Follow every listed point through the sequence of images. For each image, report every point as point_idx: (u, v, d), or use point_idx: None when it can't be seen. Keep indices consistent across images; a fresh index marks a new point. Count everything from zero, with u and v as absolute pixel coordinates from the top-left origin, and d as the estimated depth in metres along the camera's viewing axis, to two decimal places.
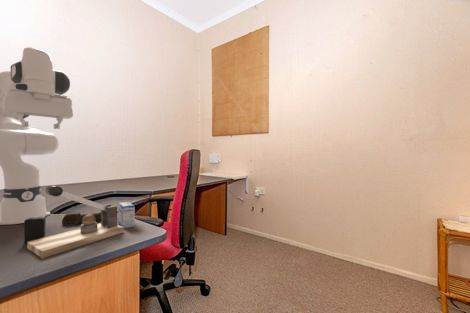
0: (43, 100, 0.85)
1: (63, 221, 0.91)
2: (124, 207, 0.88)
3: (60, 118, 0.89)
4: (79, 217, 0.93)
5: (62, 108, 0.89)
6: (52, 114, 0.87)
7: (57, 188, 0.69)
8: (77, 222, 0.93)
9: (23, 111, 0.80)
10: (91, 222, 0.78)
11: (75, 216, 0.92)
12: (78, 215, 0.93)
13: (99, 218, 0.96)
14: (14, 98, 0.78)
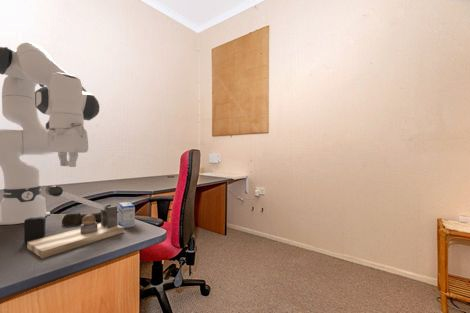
0: (62, 135, 0.72)
1: (63, 221, 0.91)
2: (124, 207, 0.88)
3: (69, 154, 0.71)
4: (79, 217, 0.93)
5: (70, 141, 0.68)
6: (65, 150, 0.70)
7: (57, 188, 0.69)
8: (77, 222, 0.93)
9: (54, 150, 0.75)
10: (91, 222, 0.78)
11: (75, 216, 0.92)
12: (79, 215, 0.93)
13: (99, 218, 0.96)
14: (51, 137, 0.76)
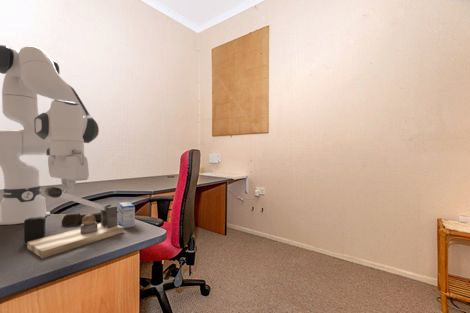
0: (62, 161, 0.72)
1: (63, 221, 0.91)
2: (124, 207, 0.88)
3: (67, 181, 0.72)
4: (79, 217, 0.93)
5: (70, 169, 0.69)
6: (66, 178, 0.70)
7: (56, 189, 0.69)
8: (77, 222, 0.92)
9: (55, 176, 0.75)
10: (91, 222, 0.78)
11: (75, 216, 0.92)
12: (78, 215, 0.93)
13: (99, 218, 0.96)
14: (51, 163, 0.76)
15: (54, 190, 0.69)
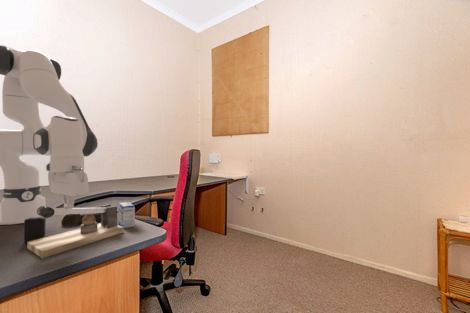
0: (62, 177, 0.72)
1: (62, 222, 0.90)
2: (124, 207, 0.88)
3: (67, 196, 0.72)
4: (79, 217, 0.92)
5: (70, 186, 0.69)
6: (66, 194, 0.70)
7: (47, 209, 0.67)
8: (77, 222, 0.92)
9: (55, 191, 0.75)
10: (91, 222, 0.78)
11: (75, 216, 0.92)
12: (79, 215, 0.93)
13: (99, 218, 0.96)
14: (51, 178, 0.76)
15: (45, 211, 0.67)
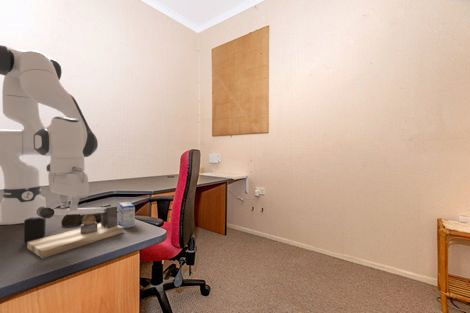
0: (62, 178, 0.72)
1: (62, 222, 0.90)
2: (124, 207, 0.88)
3: (70, 198, 0.71)
4: (79, 217, 0.92)
5: (70, 186, 0.69)
6: (66, 195, 0.71)
7: (47, 210, 0.67)
8: (77, 222, 0.92)
9: (55, 192, 0.75)
10: (91, 222, 0.78)
11: (75, 216, 0.92)
12: (79, 215, 0.93)
13: (99, 218, 0.96)
14: (52, 179, 0.76)
15: (45, 211, 0.67)
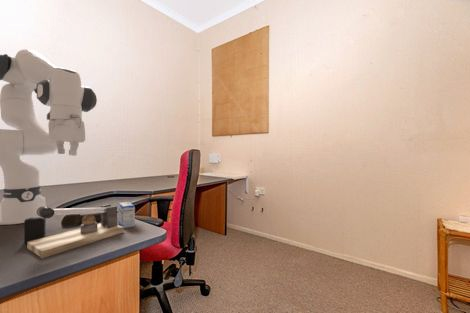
0: (61, 125, 0.78)
1: (62, 222, 0.90)
2: (124, 207, 0.88)
3: (70, 143, 0.76)
4: (79, 218, 0.92)
5: (68, 131, 0.75)
6: (64, 140, 0.77)
7: (47, 210, 0.67)
8: (77, 223, 0.92)
9: (54, 139, 0.81)
10: (91, 222, 0.78)
11: (75, 216, 0.92)
12: (79, 215, 0.92)
13: (99, 218, 0.96)
14: (51, 127, 0.82)
15: (45, 211, 0.67)
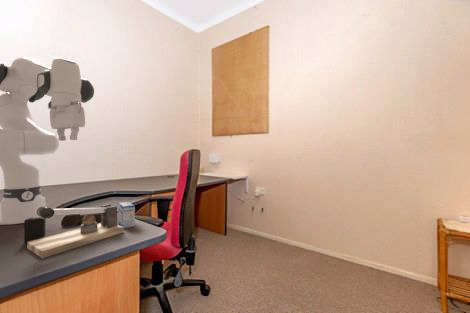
0: (62, 112, 0.83)
1: (62, 222, 0.90)
2: (124, 207, 0.88)
3: (71, 128, 0.80)
4: (79, 218, 0.92)
5: (69, 117, 0.79)
6: (65, 125, 0.81)
7: (47, 210, 0.67)
8: (77, 223, 0.92)
9: (55, 127, 0.86)
10: (91, 222, 0.78)
11: (76, 216, 0.91)
12: (79, 215, 0.92)
13: (99, 218, 0.96)
14: (53, 116, 0.87)
15: (45, 211, 0.67)
